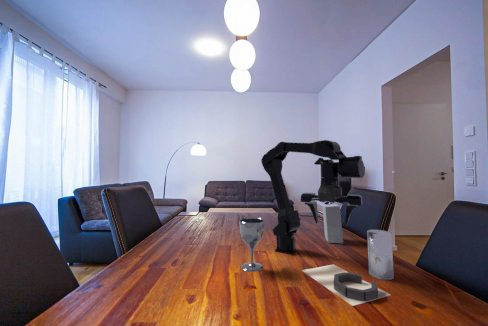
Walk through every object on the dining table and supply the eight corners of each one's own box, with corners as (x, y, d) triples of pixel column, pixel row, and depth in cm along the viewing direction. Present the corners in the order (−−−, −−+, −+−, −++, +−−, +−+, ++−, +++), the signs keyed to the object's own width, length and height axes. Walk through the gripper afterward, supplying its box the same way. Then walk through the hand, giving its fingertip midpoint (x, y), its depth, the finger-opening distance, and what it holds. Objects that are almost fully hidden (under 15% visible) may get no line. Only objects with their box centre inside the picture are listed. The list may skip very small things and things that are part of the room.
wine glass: (266, 263, 74) (266, 218, 75) (260, 273, 66) (260, 223, 67) (244, 260, 77) (244, 217, 77) (236, 270, 69) (235, 221, 70)
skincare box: (343, 244, 93) (342, 206, 94) (325, 243, 95) (324, 206, 96) (339, 238, 102) (338, 203, 102) (322, 237, 103) (322, 203, 104)
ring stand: (301, 273, 66) (301, 263, 66) (333, 267, 70) (333, 257, 71) (352, 310, 49) (352, 296, 49) (391, 299, 53) (390, 286, 53)
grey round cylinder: (375, 283, 60) (372, 235, 61) (365, 273, 66) (363, 229, 67) (398, 283, 60) (396, 235, 60) (386, 273, 66) (384, 229, 66)
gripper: (295, 178, 72) (296, 226, 72) (359, 178, 63) (361, 234, 62) (304, 177, 82) (305, 220, 81) (361, 177, 72) (363, 225, 72)
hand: (330, 224), depth 74 cm, fingers open, 9 cm apart
